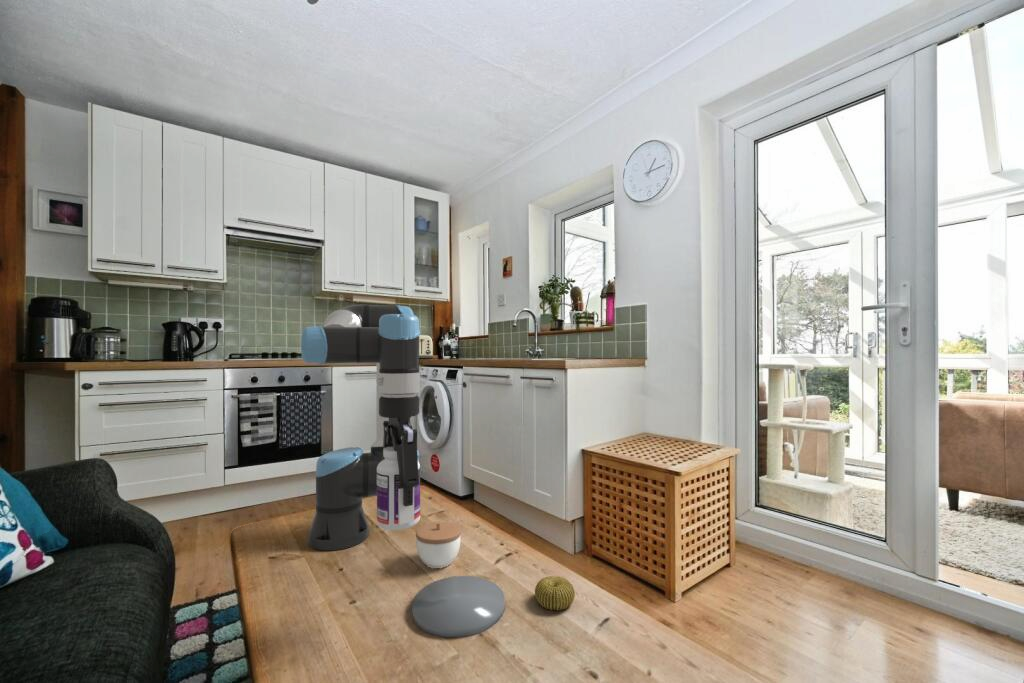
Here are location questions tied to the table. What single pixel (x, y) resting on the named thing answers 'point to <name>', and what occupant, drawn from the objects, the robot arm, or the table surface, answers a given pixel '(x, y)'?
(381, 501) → the pill bottle
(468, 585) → the grey plate
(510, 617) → the table surface
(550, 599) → the green barrel cactus
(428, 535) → the lidded jar
